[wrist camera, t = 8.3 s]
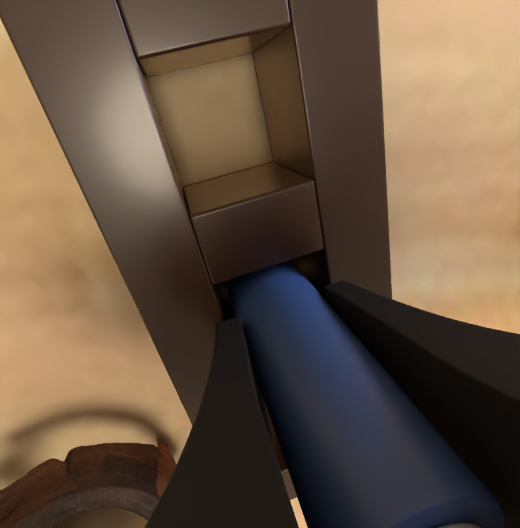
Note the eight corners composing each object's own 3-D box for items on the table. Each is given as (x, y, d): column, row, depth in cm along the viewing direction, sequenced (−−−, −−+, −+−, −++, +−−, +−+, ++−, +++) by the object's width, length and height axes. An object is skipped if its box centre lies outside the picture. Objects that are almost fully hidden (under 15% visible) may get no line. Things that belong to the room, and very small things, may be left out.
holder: (302, -43, 10) (373, -124, 7) (356, 391, 19) (400, 454, 16) (39, 9, 9) (-36, -55, 6) (224, 443, 18) (238, 523, 15)
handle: (290, 240, 12) (606, 558, 4) (302, 302, 14) (558, 652, 5) (218, 263, 12) (365, 684, 3) (237, 325, 13) (381, 749, 4)
